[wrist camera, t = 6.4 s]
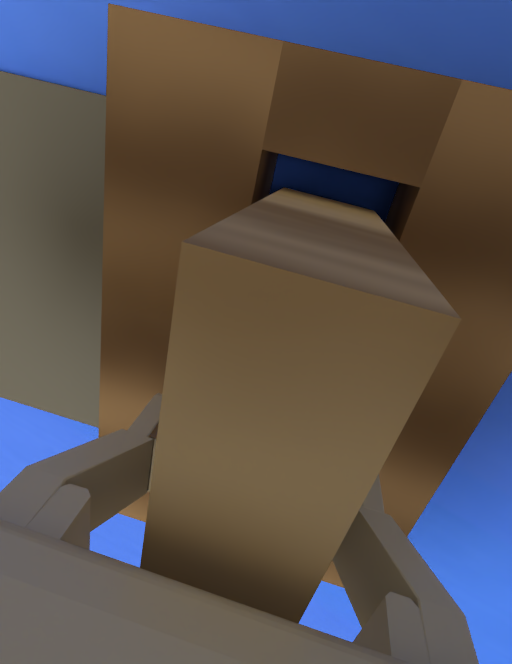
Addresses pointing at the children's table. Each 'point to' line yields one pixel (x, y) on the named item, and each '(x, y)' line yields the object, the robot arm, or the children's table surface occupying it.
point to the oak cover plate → (284, 394)
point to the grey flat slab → (51, 245)
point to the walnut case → (255, 183)
